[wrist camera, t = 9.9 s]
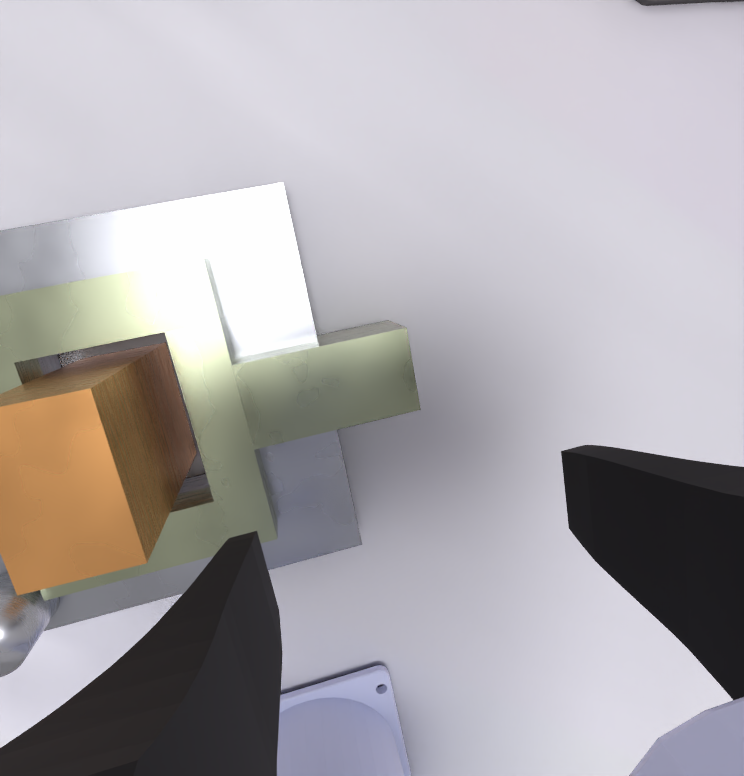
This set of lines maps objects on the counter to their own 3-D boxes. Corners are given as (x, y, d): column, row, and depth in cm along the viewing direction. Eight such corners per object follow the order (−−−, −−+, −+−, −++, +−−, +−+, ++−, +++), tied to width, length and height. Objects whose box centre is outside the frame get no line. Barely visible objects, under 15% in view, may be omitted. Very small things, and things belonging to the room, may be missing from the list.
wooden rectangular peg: (196, 452, 20) (147, 563, 12) (118, 470, 20) (17, 595, 12) (165, 342, 19) (89, 388, 11) (82, 358, 19) (-56, 417, 11)
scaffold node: (422, 509, 22) (452, 557, 19) (15, 617, 20) (-47, 698, 16) (361, 175, 19) (383, 150, 15) (-137, 262, 17) (-261, 257, 13)
